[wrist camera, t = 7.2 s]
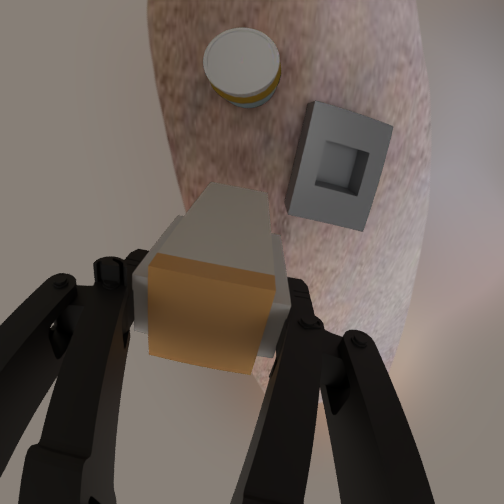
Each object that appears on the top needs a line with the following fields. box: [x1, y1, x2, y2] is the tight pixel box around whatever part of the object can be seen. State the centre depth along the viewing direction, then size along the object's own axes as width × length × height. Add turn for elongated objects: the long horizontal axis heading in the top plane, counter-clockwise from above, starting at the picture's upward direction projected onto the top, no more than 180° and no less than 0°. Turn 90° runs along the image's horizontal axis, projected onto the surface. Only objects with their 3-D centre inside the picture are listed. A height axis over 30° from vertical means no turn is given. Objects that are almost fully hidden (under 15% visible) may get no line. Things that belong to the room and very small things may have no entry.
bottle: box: [203, 28, 281, 108], centre depth 26 cm, size 7×7×15 cm
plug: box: [148, 182, 276, 375], centre depth 16 cm, size 4×4×13 cm
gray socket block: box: [285, 101, 393, 232], centre depth 35 cm, size 14×10×6 cm
